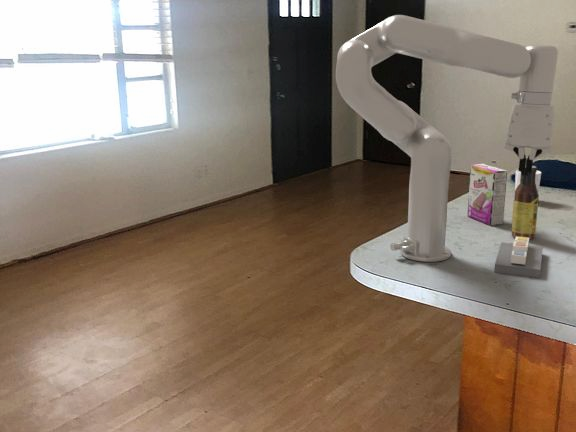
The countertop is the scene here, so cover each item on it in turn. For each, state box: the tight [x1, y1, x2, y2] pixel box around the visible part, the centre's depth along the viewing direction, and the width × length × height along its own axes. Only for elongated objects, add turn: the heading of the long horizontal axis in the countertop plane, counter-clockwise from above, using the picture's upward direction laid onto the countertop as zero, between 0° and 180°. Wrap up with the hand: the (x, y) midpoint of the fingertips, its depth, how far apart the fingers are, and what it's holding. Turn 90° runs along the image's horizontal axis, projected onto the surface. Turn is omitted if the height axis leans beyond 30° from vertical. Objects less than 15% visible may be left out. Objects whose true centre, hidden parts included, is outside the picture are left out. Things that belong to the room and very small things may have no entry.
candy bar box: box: [466, 163, 508, 227], centre depth 183 cm, size 11×5×16 cm, turn 22°
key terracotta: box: [513, 241, 528, 255], centre depth 148 cm, size 3×3×4 cm
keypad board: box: [493, 241, 544, 278], centre depth 151 cm, size 17×10×2 cm, turn 157°
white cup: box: [514, 169, 542, 192], centre depth 204 cm, size 8×8×10 cm
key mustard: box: [514, 236, 530, 245], centre depth 155 cm, size 3×3×4 cm
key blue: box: [511, 251, 527, 266], centre depth 145 cm, size 3×3×4 cm
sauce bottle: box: [511, 165, 540, 240], centre depth 167 cm, size 7×6×20 cm
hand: (524, 174), depth 151 cm, fingers closed
